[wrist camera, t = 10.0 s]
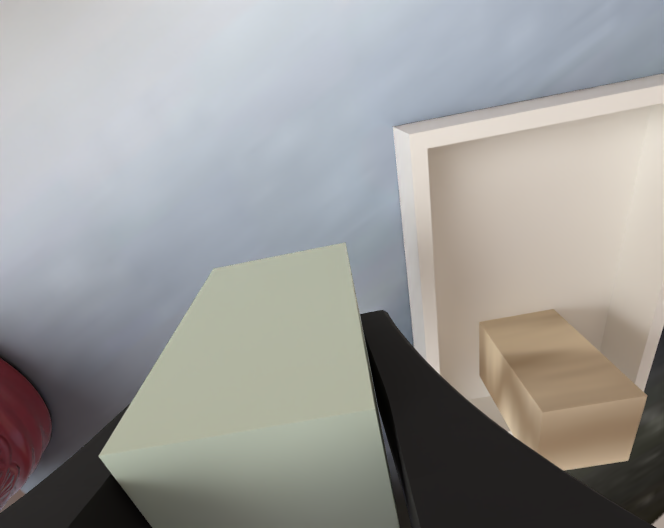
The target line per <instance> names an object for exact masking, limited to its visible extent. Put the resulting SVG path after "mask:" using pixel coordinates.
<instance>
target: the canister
mask: <svg viewBox="0 0 664 528" xmlns="http://www.w3.org/2000/svg"><path fill="white" fill-rule="evenodd" d="M51 432H52V424H51V418H50V414H49V411H48V409H47V407H46V405H45V403H44V401H43V399H42V398H41V396H40V395H39V393H38V392H37V390H36V389H35V388H34V387H33V385H32V384H31V383H30V382H29V381H28V380H27V379H26V378H25V377H24V376H23V375H22V374H21V373H20V372H18V371H17V370H16V369H15V368H13V367H12V366H11V365H9V364H8V363H7V362H5V361H4V360H3V359H1V358H0V510H1V509H2V508H3V506H4V505H5V504H6V502H7V501H8V500H9V498H10V497H11V496H13V495H14V494H15V493H16V492H18V491H19V490H20V489H21V488H22V487H23V485H24V484H25V483H26V481H27V479H28V478H29V476H30V475H31V474H32V473H33V472H34V470H35V469H36V467H37V466H38V464H39V462H40V459H41V456H42V453H43V452H44V450H45V449H46V447H47V445H48V443H49V441H50V437H51Z"/></svg>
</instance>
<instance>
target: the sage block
mask: <svg viewBox="0 0 664 528" xmlns="http://www.w3.org/2000/svg"><path fill="white" fill-rule="evenodd" d="M99 458H100V459H101V460H102V462H103V463H104V464H105V466H106V467H107V468H108V470H109V471H110V472H111V474H112V475H113V476H114V477H115V479H116V480H117V481H118V483H119V484H120V485H121V487H122V488H123V489H124V491H125V492H126V493H127V495H128V496H129V497H130V499H131V500H132V501H133V503H134V504H135V505H136V507H137V508H138V509H139V511H140V512H141V513H142V515H143V516H144V517H145V519H146V520H147V521H148V523H149V524H150V525H151V526H152V528H400V525H399V520H398V514H397V509H396V503H395V498H394V493H393V487H392V482H391V477H390V471H389V466H388V461H387V455H386V450H385V445H384V439H383V434H382V429H381V423H380V418H379V413H378V407H377V402H376V397H375V391H374V386H373V381H372V375H371V370H370V365H369V359H368V354H367V349H366V344H365V338H364V333H363V328H362V323H361V318H360V313H359V308H358V303H357V298H356V293H355V288H354V283H353V278H352V273H351V268H350V263H349V258H348V253H347V248H346V243H340V244H335V245H330V246H325V247H320V248H315V249H310V250H305V251H300V252H295V253H290V254H285V255H280V256H275V257H270V258H265V259H260V260H255V261H250V262H245V263H240V264H235V265H230V266H224V267H219V268H214V269H213V270H212V272H211V273H210V275H209V277H208V278H207V280H206V282H205V283H204V285H203V286H202V288H201V290H200V291H199V293H198V295H197V296H196V298H195V299H194V301H193V303H192V304H191V306H190V308H189V309H188V311H187V313H186V314H185V316H184V317H183V319H182V321H181V322H180V324H179V326H178V327H177V329H176V330H175V332H174V334H173V335H172V337H171V339H170V340H169V342H168V343H167V345H166V347H165V348H164V350H163V352H162V353H161V355H160V357H159V358H158V360H157V361H156V363H155V365H154V366H153V368H152V370H151V371H150V373H149V374H148V376H147V378H146V379H145V381H144V383H143V384H142V386H141V388H140V389H139V391H138V392H137V394H136V396H135V397H134V399H133V401H132V402H131V404H130V405H129V407H128V409H127V410H126V412H125V414H124V415H123V417H122V418H121V420H120V422H119V423H118V425H117V427H116V428H115V430H114V432H113V433H112V435H111V436H110V438H109V440H108V441H107V443H106V445H105V446H104V448H103V449H102V451H101V453H100V454H99Z"/></svg>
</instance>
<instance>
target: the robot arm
mask: <svg viewBox="0 0 664 528" xmlns="http://www.w3.org/2000/svg"><path fill="white" fill-rule="evenodd" d="M360 316H361V321H362V327H363V332H364V337H365V342H366V347H367V352H368V357H369V363H370V368H371V373H372V378H373V383H374V388H375V393H376V398H377V403H378V408H379V412H380V415H381V418H382V422H383V425H384V429H385V432H386V436H387V439H388V442H389V446H390V449H391V453H392V456H393V460H394V463H395V466H396V470H397V473H398V477H399V480H400V483H401V487H402V490H403V494H404V498H405V502H406V506H407V509H408V513H409V518H410V523H411V527H412V528H656V527H654V526H652V525H651V524H649V523H647V522H645V521H644V520H642V519H640V518H639V517H637V516H635V515H634V514H632V513H630V512H628V511H627V510H625V509H623V508H622V507H620V506H618V505H617V504H615V503H614V502H612V501H610V500H609V499H607V498H606V497H604V496H602V495H601V494H599V493H598V492H596V491H594V490H593V489H591V488H590V487H588V486H586V485H585V484H583V483H582V482H580V481H578V480H577V479H575V478H574V477H572V476H571V475H569V474H568V473H566V472H565V471H563V470H562V469H560V468H559V467H557V466H556V465H555V464H553V463H552V462H550V461H549V460H547V459H546V458H544V457H543V456H541V455H540V454H539V453H537V452H536V451H534V450H533V449H531V448H530V447H528V446H527V445H525V444H524V443H522V442H521V441H520V440H518V439H517V438H515V437H514V436H513V435H511V434H510V433H509V432H507V431H506V430H505V429H503V428H502V427H501V426H499V425H498V424H497V423H496V422H494V421H493V420H492V419H490V418H489V417H488V416H487V415H485V414H484V413H483V412H482V411H480V410H479V409H478V408H477V407H475V406H474V405H473V404H472V403H471V402H469V401H468V400H467V399H466V398H465V397H464V396H462V395H461V394H460V393H459V392H458V391H457V390H456V389H455V388H454V387H452V386H451V385H450V384H449V383H448V382H447V381H446V380H445V379H444V378H443V377H442V376H441V375H440V374H439V373H438V372H437V371H436V370H435V369H434V368H433V367H432V366H431V365H430V364H429V363H428V362H427V361H426V360H425V359H424V358H423V357H422V356H421V355H420V354H419V353H418V352H417V350H416V349H415V348H414V347H413V346H412V345H411V344H410V343H409V341H408V340H407V339H406V338H405V337H404V335H403V334H402V333H401V332H400V330H399V329H398V328H397V326H396V325H395V324H394V322H393V321H392V319H391V318H390V316H389V315H388V313H387V312H385V311H384V310H380V311H375V312H369V313H364V314H360ZM130 404H131V403H130ZM130 404H129V405H130ZM129 405H128V406H127V407H126V408H125V409H124V410H123V411H122V412H121V413H120V414H118V415H117V416H116V417H115V418H114V419H113V420H112V421H111V422H110V423H109V424H108V425H107V426H105V427H104V428H103V429H102V430H101V431H100V432H99V433H98V434H97V435H96V436H95V437H93V438H92V439H91V440H90V441H89V442H88V443H87V444H86V445H85V446H84V447H82V448H81V449H80V450H79V451H78V452H77V453H76V454H74V455H73V456H72V457H71V458H70V459H68V460H67V461H66V462H65V463H64V464H63V465H61V466H60V467H59V468H58V469H56V470H55V471H54V472H53V473H51V474H50V475H49V476H48V477H47V478H45V479H44V480H43V481H42V482H40V483H39V484H38V485H37V486H35V487H34V488H33V489H32V490H30V491H29V492H28V493H27V494H25V495H24V496H23V497H21V498H20V499H19V500H18V501H16V502H15V503H14V504H12V505H11V506H9V507H8V508H7V509H5V510H4V511H3V512H1V513H0V528H152V526H151V525H150V524H149V523H148V521H147V520H146V519H145V517H144V516H143V515H142V513H141V512H140V511H139V509H138V508H137V507H136V505H135V504H134V503H133V501H132V500H131V499H130V497H129V496H128V495H127V493H126V492H125V491H124V489H123V488H122V487H121V485H120V484H119V483H118V481H117V480H116V479H115V477H114V476H113V475H112V474H111V472H110V471H109V470H108V468H107V467H106V466H105V464H104V463H103V462H102V460H101V459H100V458H99V454H100V453H101V451H102V449H103V448H104V446H105V445H106V443H107V441H108V440H109V438H110V436H111V435H112V433H113V432H114V430H115V428H116V427H117V425H118V423H119V422H120V420H121V418H122V417H123V415H124V414H125V412H126V410H127V409H128V407H129Z"/></svg>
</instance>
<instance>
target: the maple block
mask: <svg viewBox="0 0 664 528" xmlns="http://www.w3.org/2000/svg"><path fill="white" fill-rule="evenodd" d="M479 376H480V378H481V379H482V381H483V383H484V385H485V387H486V388H487V390H488V392H489V394H490V395H491V397H492V399H493V401H494V402H495V404H496V406H497V408H498V409H499V411H500V413H501V415H502V416H503V418H504V420H505V422H506V423H507V425H508V427H509V429H510V431H511V432H512V434H513V436H514V437H515V438H517V439H518V440H520V441H521V442H522V443H524V444H525V445H527V446H528V447H530V448H531V449H533V450H534V451H536V452H537V453H539V454H540V455H541V456H543V457H544V458H546V459H547V460H549V461H550V462H552V463H553V464H555V465H556V466H557V467H559V468H560V469H562V470H570V469H576V468H583V467H590V466H596V465H603V464H609V463H616V462H623V461H628V459H629V456H630V453H631V449H632V446H633V443H634V439H635V436H636V433H637V429H638V426H639V422H640V419H641V416H642V412H643V409H644V406H645V402H646V399H647V395H646V394H645V393H644V392H643V391H642V390H641V389H640V388H639V387H638V386H636V385H635V384H634V383H633V382H632V381H631V380H630V379H629V378H628V377H627V376H626V375H625V374H623V373H622V372H621V371H620V370H619V369H618V368H617V367H616V366H615V365H614V364H613V363H612V362H610V361H609V360H608V359H607V358H606V357H605V356H604V355H603V354H602V353H601V352H600V351H599V350H597V349H596V348H595V347H594V346H593V345H592V344H591V343H590V342H589V341H588V340H587V339H586V338H584V337H583V336H582V335H581V334H580V333H579V332H578V331H577V330H576V329H575V328H574V327H573V326H571V325H570V324H569V323H568V322H567V321H566V320H565V319H564V318H563V317H562V316H561V315H560V314H558V313H557V312H556V311H555V310H554V309H550V310H545V311H539V312H533V313H528V314H522V315H516V316H511V317H505V318H499V319H493V320H488V321H482V322H479Z"/></svg>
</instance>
